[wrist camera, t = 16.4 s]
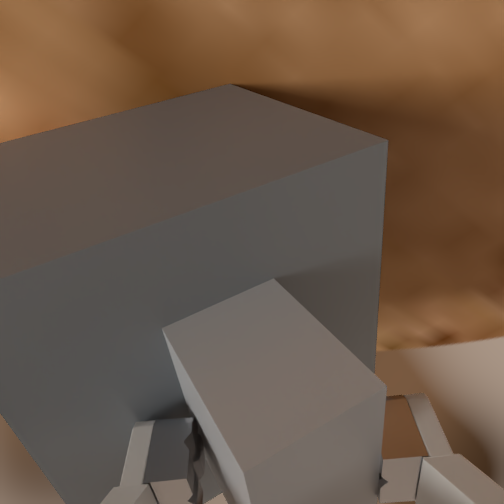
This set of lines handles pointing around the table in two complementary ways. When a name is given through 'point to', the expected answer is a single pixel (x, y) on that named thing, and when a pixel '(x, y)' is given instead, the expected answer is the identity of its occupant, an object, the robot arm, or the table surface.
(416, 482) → the robot arm
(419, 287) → the table surface
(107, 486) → the stepped grey block
